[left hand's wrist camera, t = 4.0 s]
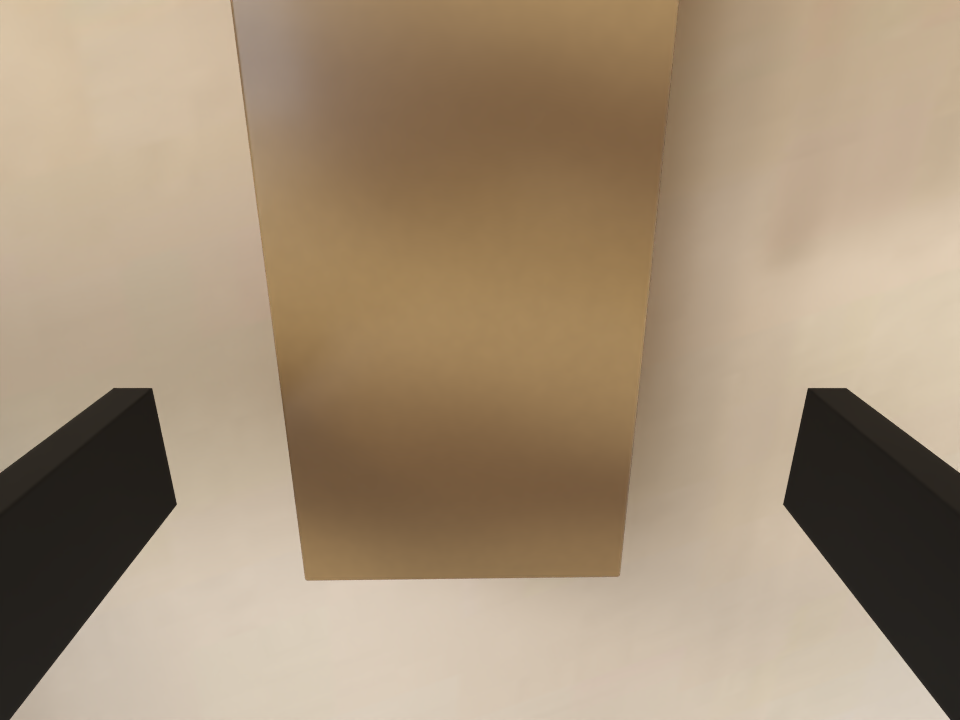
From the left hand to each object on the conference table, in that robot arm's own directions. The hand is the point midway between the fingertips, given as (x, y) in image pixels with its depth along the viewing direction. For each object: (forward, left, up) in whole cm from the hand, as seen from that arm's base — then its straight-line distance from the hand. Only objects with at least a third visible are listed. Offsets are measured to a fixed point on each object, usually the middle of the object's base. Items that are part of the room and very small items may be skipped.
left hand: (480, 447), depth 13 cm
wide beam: (+20, +15, -10) cm, 26 cm away
